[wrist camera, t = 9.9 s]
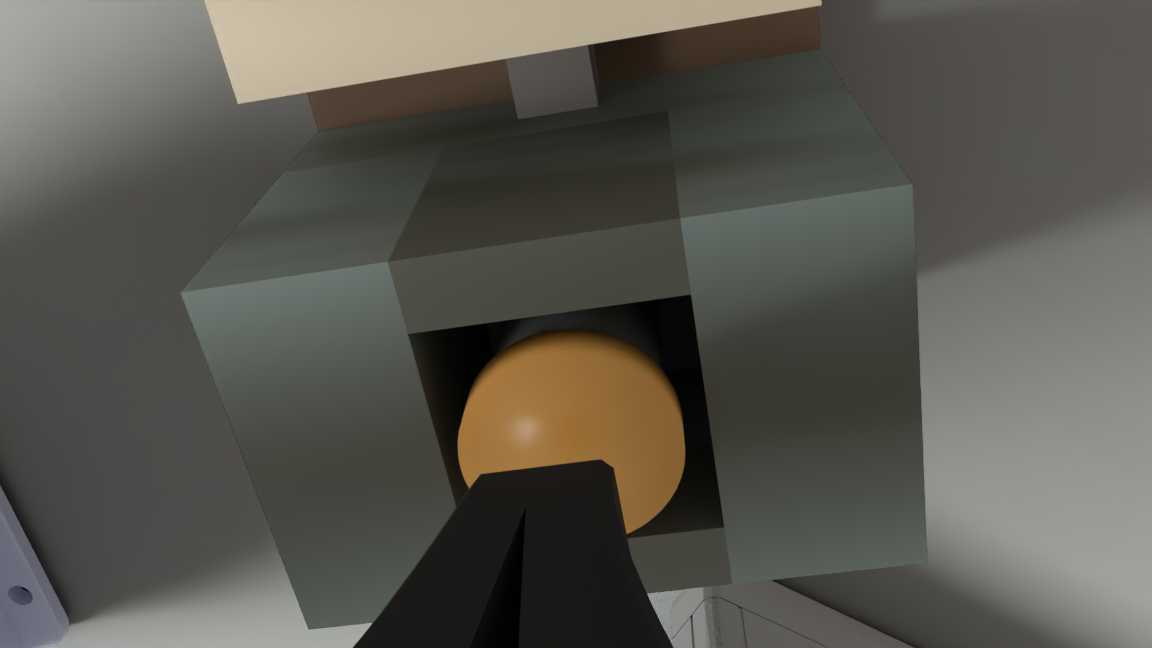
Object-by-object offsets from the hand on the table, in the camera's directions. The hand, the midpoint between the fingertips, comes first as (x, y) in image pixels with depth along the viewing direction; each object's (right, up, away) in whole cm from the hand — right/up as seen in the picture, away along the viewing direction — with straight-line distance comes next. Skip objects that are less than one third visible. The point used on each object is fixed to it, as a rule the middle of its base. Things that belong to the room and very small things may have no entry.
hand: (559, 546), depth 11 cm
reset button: (0, +3, +5) cm, 6 cm away
